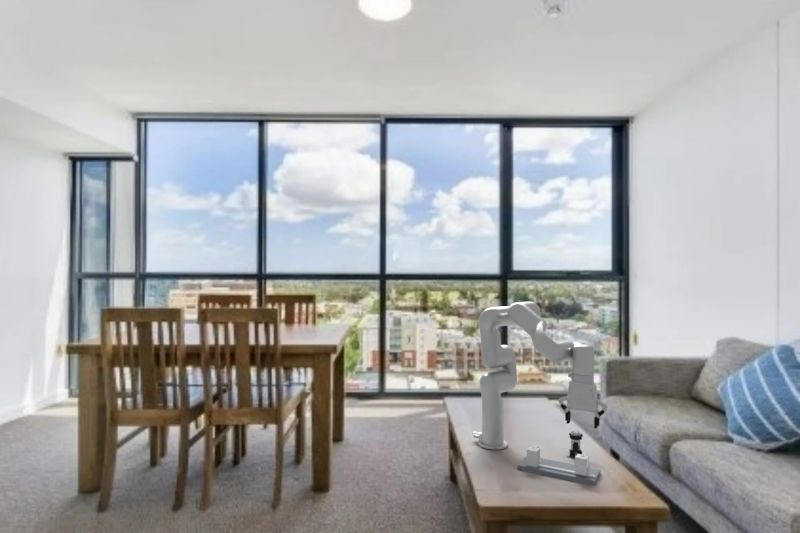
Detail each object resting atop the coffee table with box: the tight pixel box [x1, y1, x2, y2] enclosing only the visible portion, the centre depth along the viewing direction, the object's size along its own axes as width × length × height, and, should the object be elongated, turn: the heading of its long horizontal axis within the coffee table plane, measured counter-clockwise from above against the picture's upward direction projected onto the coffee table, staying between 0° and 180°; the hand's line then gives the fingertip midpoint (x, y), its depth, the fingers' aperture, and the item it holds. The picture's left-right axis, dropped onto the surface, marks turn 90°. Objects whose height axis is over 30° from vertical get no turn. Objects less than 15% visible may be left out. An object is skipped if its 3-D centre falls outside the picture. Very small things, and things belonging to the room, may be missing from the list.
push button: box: [564, 430, 584, 458], centre depth 211 cm, size 7×5×10 cm
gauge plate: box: [517, 444, 602, 486], centre depth 195 cm, size 28×12×8 cm, turn 59°
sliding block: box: [574, 451, 590, 476], centre depth 190 cm, size 4×7×6 cm, turn 149°
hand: (582, 425), depth 189 cm, fingers open, 9 cm apart
